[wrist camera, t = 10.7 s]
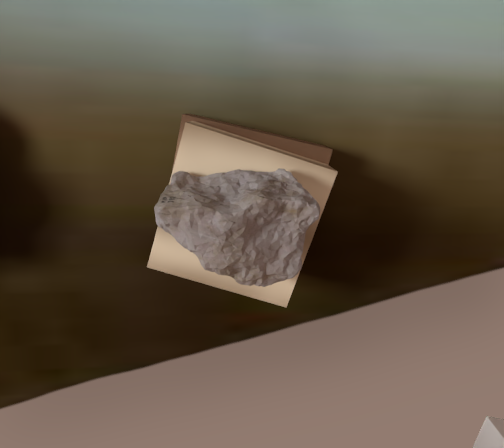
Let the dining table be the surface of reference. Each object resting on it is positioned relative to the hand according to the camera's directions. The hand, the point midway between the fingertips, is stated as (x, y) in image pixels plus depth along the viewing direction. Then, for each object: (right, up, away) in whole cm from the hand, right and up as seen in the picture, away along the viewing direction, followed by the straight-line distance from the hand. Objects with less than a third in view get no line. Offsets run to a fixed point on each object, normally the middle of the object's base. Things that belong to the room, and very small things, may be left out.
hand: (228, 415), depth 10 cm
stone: (0, +6, +19) cm, 19 cm away
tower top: (0, +6, +22) cm, 23 cm away
